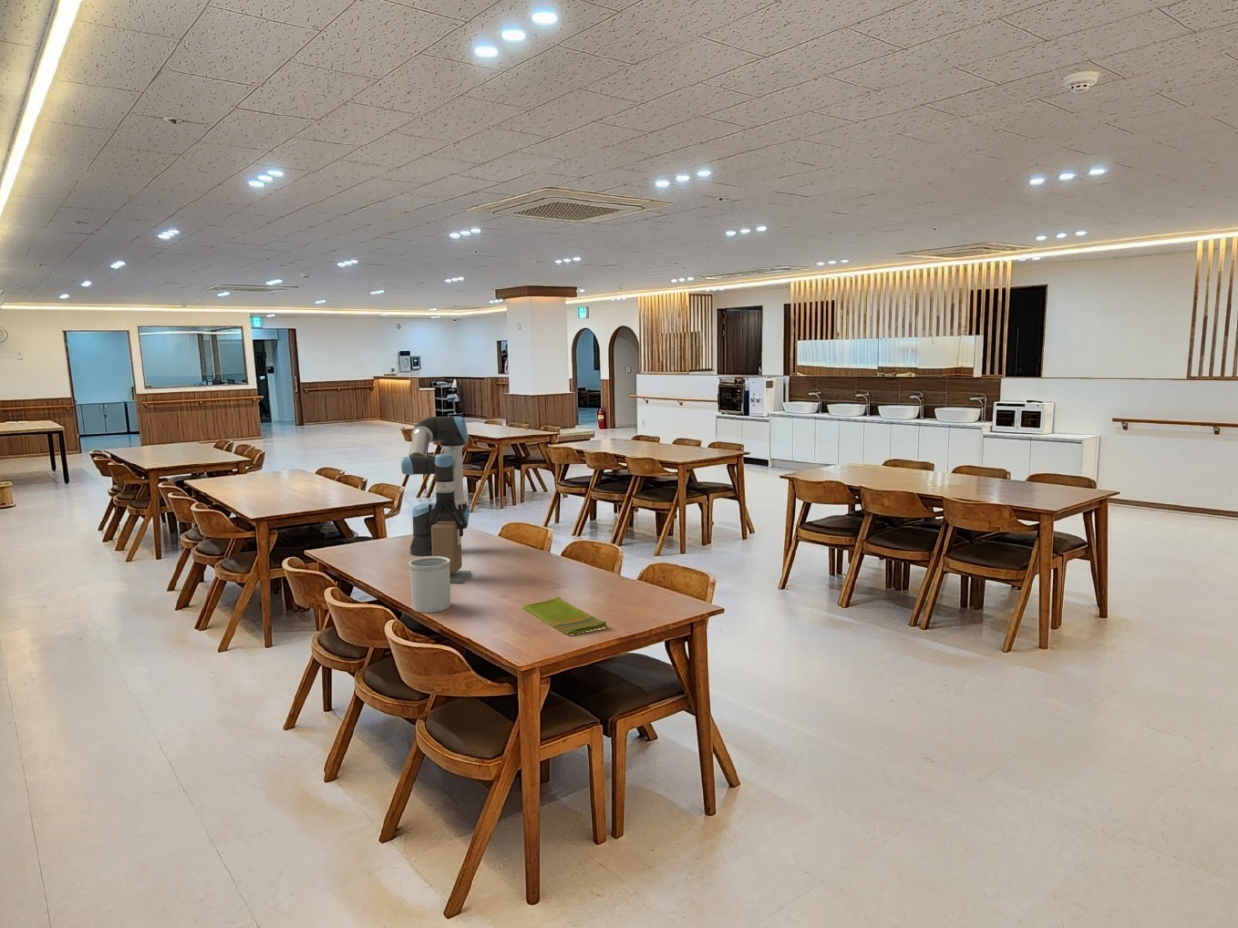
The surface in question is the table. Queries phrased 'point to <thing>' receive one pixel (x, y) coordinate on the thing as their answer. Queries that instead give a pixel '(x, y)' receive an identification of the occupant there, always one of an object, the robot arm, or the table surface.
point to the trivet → (459, 577)
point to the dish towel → (564, 616)
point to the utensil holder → (430, 584)
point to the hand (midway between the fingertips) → (446, 543)
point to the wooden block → (447, 543)
